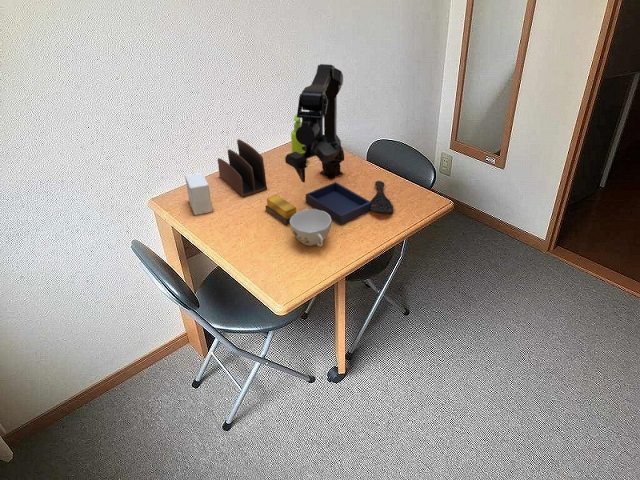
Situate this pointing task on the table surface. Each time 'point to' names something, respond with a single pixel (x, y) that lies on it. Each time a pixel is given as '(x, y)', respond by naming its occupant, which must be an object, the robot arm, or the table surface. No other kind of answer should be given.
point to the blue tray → (338, 202)
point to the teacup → (311, 226)
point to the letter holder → (244, 170)
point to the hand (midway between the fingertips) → (314, 177)
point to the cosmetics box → (198, 193)
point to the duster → (280, 209)
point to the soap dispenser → (295, 144)
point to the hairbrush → (381, 201)
